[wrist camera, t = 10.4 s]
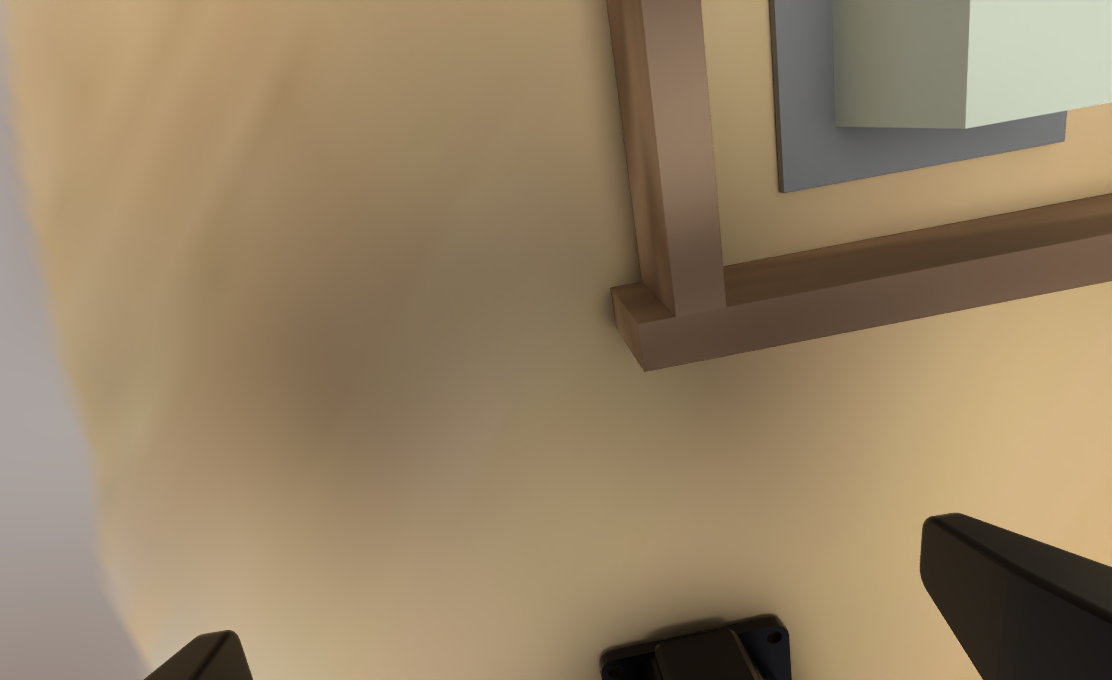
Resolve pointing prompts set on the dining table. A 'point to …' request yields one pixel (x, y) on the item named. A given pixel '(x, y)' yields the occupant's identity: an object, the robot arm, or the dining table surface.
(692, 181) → the block
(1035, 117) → the tile
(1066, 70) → the sage cube
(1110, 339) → the dining table surface
